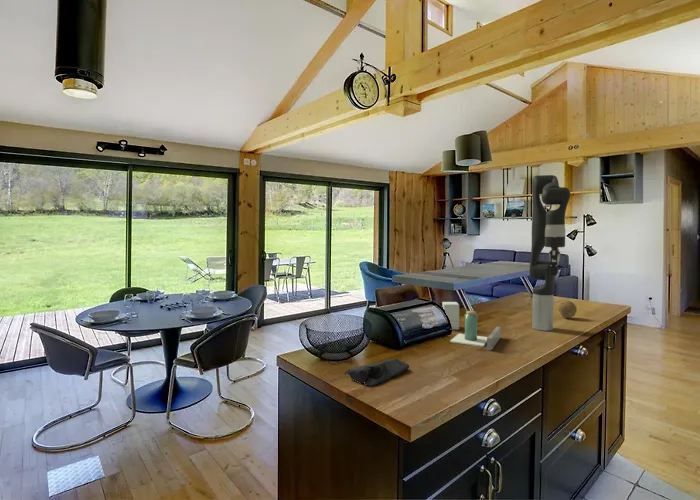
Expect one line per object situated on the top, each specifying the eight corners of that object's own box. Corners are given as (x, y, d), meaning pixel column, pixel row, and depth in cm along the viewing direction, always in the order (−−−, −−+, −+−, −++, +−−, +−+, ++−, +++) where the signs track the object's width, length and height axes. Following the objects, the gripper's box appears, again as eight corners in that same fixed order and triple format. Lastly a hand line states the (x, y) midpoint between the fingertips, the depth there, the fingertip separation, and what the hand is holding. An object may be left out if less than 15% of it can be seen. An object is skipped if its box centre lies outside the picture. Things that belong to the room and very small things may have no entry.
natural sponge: (562, 315, 219) (562, 298, 218) (579, 318, 212) (579, 300, 211) (555, 318, 213) (555, 300, 212) (572, 321, 206) (573, 302, 206)
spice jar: (466, 336, 175) (467, 310, 174) (478, 338, 172) (478, 311, 172) (463, 339, 170) (463, 311, 170) (475, 341, 168) (475, 313, 167)
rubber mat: (458, 334, 181) (458, 333, 181) (489, 338, 174) (489, 337, 174) (450, 342, 169) (450, 340, 169) (483, 346, 162) (483, 345, 162)
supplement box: (456, 326, 197) (456, 301, 197) (459, 329, 190) (459, 304, 189) (442, 325, 198) (442, 301, 197) (444, 329, 191) (444, 304, 190)
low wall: (496, 337, 176) (496, 326, 176) (500, 337, 175) (500, 326, 175) (486, 350, 157) (486, 338, 157) (490, 350, 156) (491, 338, 156)
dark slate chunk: (416, 373, 134) (416, 359, 133) (368, 390, 120) (368, 375, 120) (385, 361, 146) (386, 349, 145) (339, 375, 132) (339, 362, 132)
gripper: (546, 235, 169) (545, 272, 170) (543, 236, 157) (543, 275, 158) (565, 235, 166) (565, 273, 166) (564, 236, 153) (564, 276, 154)
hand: (554, 274), depth 162 cm, fingers open, 8 cm apart
